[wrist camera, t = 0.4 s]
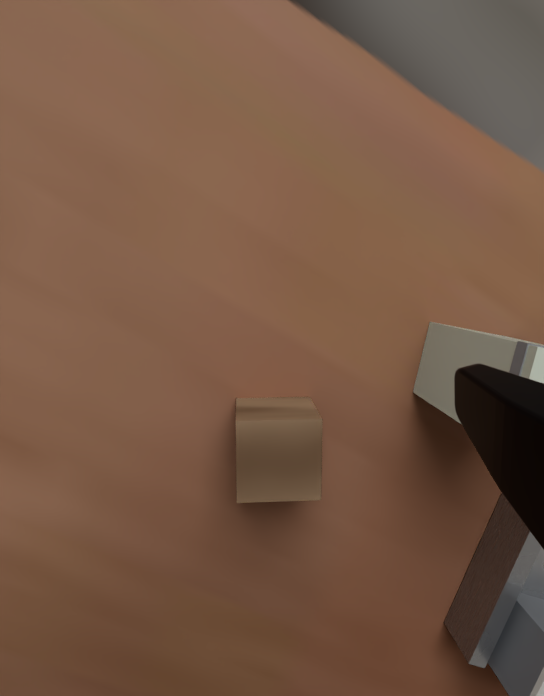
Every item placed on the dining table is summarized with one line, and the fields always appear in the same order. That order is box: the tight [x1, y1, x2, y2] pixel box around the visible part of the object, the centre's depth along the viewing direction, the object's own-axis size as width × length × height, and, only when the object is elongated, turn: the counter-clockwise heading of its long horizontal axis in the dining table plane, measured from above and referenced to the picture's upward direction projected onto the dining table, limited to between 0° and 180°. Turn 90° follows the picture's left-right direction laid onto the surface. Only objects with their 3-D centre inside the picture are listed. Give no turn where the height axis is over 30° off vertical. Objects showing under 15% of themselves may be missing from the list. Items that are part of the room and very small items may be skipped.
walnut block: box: [236, 397, 323, 503], centre depth 23 cm, size 4×4×4 cm
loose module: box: [413, 322, 544, 424], centre depth 21 cm, size 4×5×9 cm
